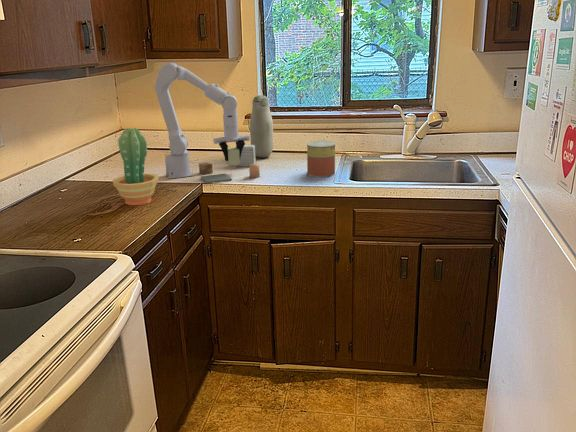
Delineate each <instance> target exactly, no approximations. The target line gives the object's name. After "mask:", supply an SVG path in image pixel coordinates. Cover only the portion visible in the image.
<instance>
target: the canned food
mask: <svg viewBox="0 0 576 432" xmlns="http://www.w3.org/2000/svg"><path fill="white" fill-rule="evenodd" d="M306 153H307V154H306V156H307V157H306V158H307V161H306V162H307V165H306V167H307V170H306V171H307V172H306V175H308V176H311V177H316V178H317V177H318V178H319V177H320V178H321V177H322V178H323V177H325V178H326V177H332V176H333V175H336V143H335V142H333V141H328V140H327V141H326V140H321V141H320V140H317V141H310V142H307V143H306Z"/></svg>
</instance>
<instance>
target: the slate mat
mask: <svg viewBox="0 0 576 432" xmlns="http://www.w3.org/2000/svg"><path fill="white" fill-rule="evenodd" d="M200 180H202V181H203V182H204V183H205V184H206V185H208V184H214V183H213V182H217V183H222V182H221V181H225V182H230V180H232V178H231V176H229V175H228V174H226V173H218V174H217V173H216V174H208V175H202V176H200Z"/></svg>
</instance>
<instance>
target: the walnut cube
mask: <svg viewBox="0 0 576 432" xmlns="http://www.w3.org/2000/svg"><path fill="white" fill-rule="evenodd" d="M198 171H199V174H201V175H202V176H207V175H212V174H213V173H214V172H213V164H212V163H211V162H208V161H207V162H202V163H198ZM211 173H212V174H211Z"/></svg>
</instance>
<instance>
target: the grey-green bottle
mask: <svg viewBox="0 0 576 432" xmlns="http://www.w3.org/2000/svg"><path fill="white" fill-rule="evenodd" d="M251 105H252V106H251V107H252V109H251V114H250V118H249V133H250V134H249V138H250V145H255V157H256V158H261V159H265V158H268V157H269V156H271V154H272V152H273V150H274V122H273V117H272V113H271V110H270V109H271V108H270V101H269V97H267V95H266V96H265V95H261V94H259V95H256V96H254V97H253V99H252V104H251Z"/></svg>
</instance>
